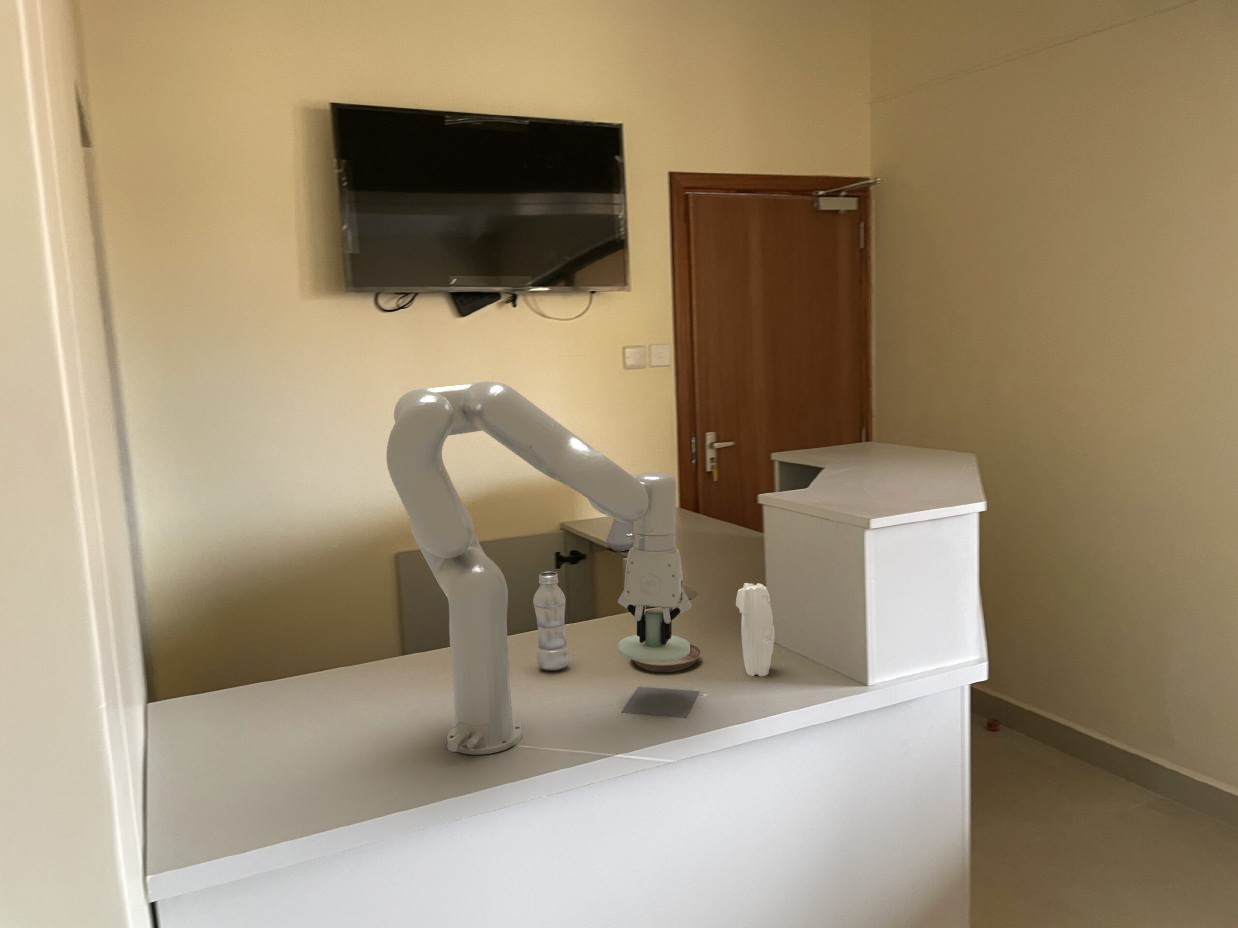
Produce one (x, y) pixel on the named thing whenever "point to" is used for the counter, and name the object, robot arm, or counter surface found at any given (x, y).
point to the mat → (661, 702)
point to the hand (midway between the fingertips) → (654, 640)
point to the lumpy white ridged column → (756, 628)
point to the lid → (653, 643)
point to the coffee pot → (620, 535)
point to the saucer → (692, 656)
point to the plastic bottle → (550, 623)
